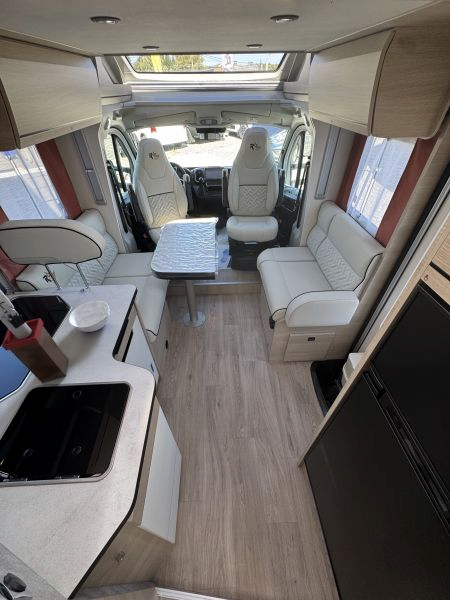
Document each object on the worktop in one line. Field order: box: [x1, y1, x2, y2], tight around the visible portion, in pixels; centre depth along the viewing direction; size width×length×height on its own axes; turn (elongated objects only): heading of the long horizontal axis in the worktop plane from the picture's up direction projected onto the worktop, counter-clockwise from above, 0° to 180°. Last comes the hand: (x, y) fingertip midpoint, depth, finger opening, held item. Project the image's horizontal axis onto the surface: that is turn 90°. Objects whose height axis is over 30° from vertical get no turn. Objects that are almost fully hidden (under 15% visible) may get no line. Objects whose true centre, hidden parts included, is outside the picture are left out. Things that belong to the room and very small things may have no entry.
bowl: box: [68, 300, 111, 333], centre depth 125 cm, size 18×18×7 cm
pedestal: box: [9, 326, 69, 384], centre depth 100 cm, size 9×9×23 cm
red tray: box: [1, 317, 44, 352], centre depth 91 cm, size 10×10×2 cm
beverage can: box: [0, 307, 32, 339], centre depth 88 cm, size 5×5×12 cm
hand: (12, 320), depth 87 cm, fingers open, 8 cm apart
